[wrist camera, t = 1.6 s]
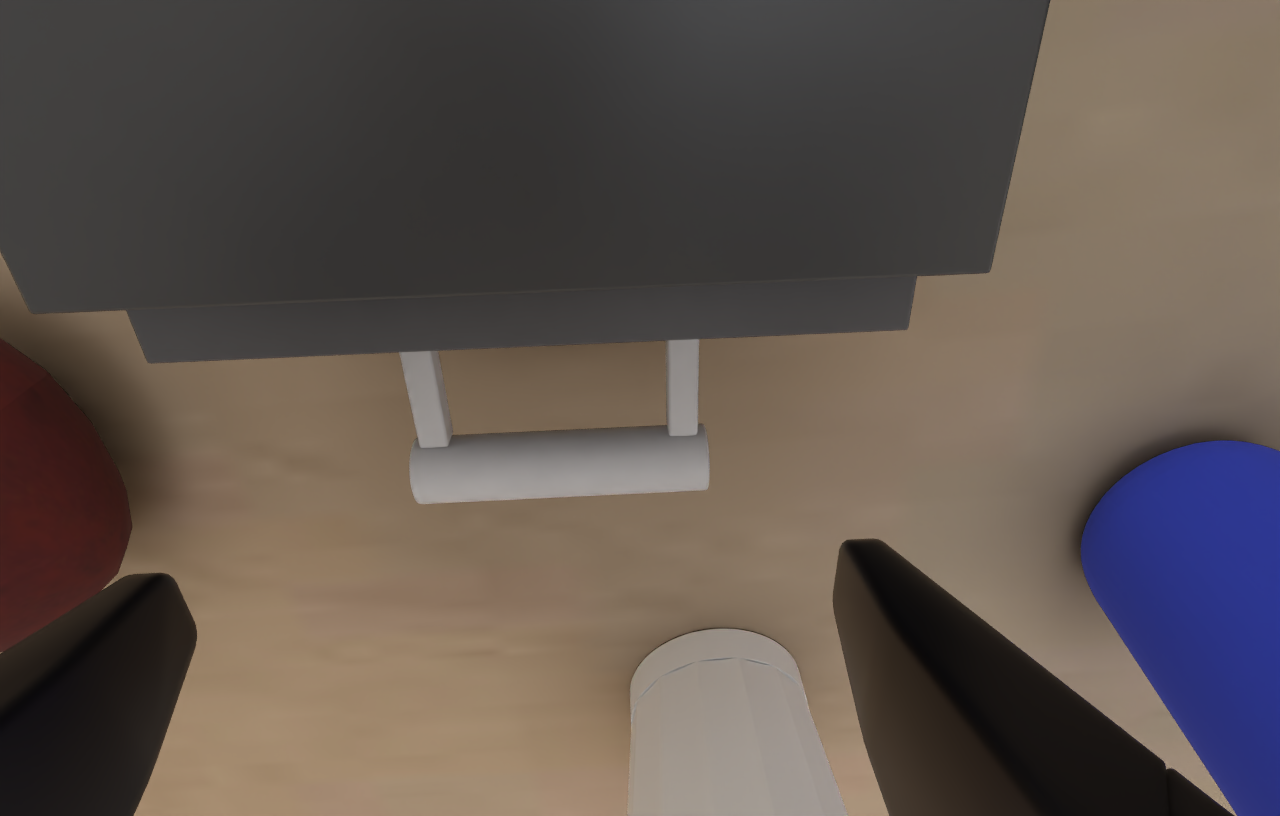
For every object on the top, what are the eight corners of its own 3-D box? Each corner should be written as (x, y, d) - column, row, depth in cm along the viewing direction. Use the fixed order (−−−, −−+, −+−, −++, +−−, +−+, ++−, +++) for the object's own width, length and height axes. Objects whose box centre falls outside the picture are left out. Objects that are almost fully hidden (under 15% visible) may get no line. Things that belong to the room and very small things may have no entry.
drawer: (785, 377, 20) (869, 564, 14) (357, 397, 20) (242, 597, 13) (874, -737, 11) (1263, -1753, 4) (70, -727, 10) (-740, -1788, 4)
